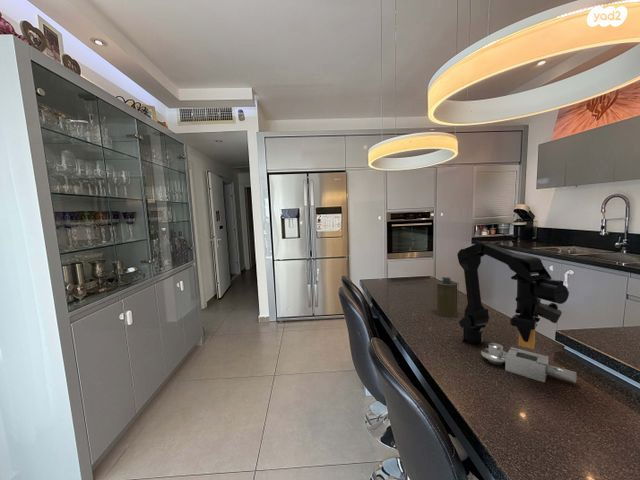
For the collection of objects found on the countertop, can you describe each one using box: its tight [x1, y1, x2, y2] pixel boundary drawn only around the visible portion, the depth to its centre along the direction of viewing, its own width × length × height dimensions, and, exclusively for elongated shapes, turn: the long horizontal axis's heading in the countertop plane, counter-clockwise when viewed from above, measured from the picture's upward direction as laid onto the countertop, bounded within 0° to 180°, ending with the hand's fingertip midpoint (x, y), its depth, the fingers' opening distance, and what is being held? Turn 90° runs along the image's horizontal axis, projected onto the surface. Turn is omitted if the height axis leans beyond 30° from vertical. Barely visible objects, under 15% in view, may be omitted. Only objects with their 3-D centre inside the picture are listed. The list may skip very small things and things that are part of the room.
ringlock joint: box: [480, 342, 577, 384], centre depth 91 cm, size 26×9×6 cm, turn 45°
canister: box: [436, 276, 460, 318], centre depth 146 cm, size 11×10×20 cm
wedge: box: [518, 329, 536, 350], centre depth 90 cm, size 4×2×8 cm, turn 45°
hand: (526, 340), depth 90 cm, fingers closed on wedge, 2 cm apart
